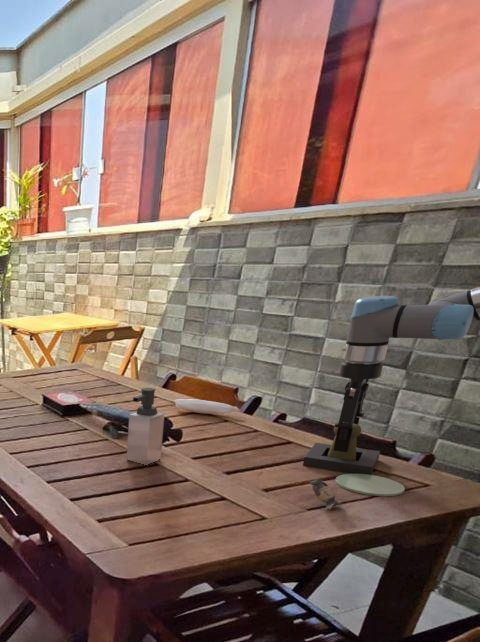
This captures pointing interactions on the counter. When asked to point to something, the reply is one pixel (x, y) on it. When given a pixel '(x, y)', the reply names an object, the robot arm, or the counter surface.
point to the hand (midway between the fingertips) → (344, 445)
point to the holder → (341, 460)
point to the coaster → (369, 484)
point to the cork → (352, 446)
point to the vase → (324, 493)
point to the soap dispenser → (145, 430)
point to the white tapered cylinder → (204, 406)
